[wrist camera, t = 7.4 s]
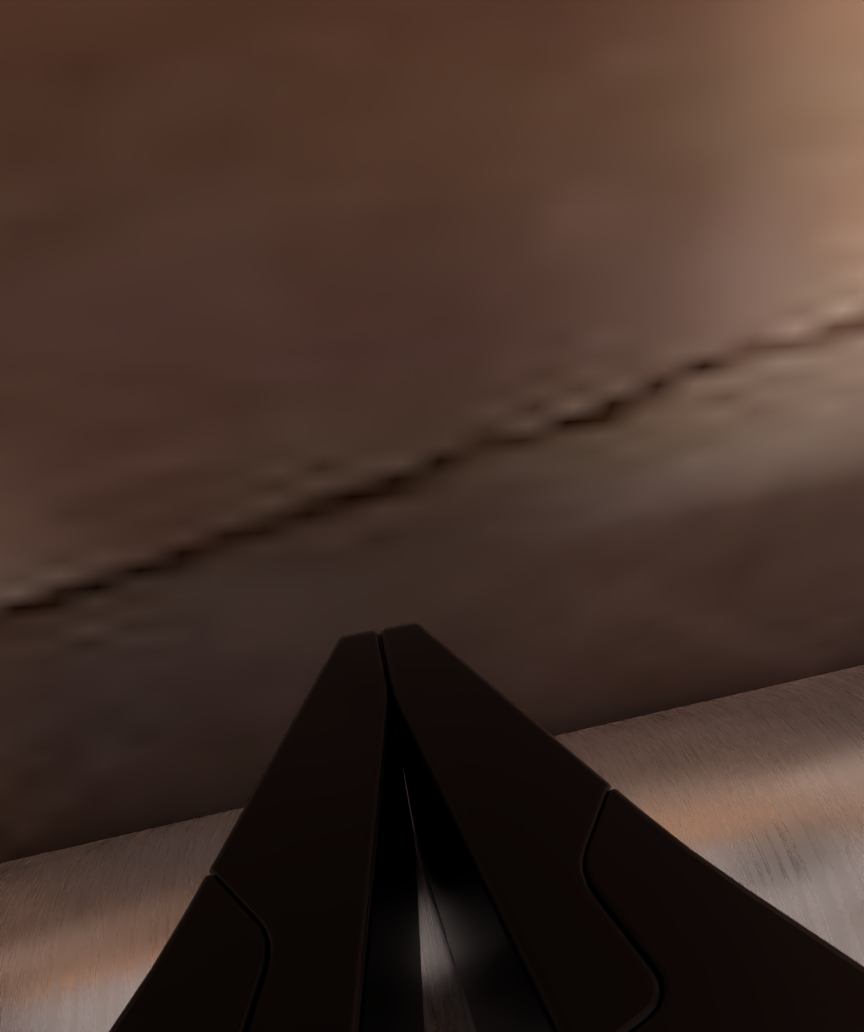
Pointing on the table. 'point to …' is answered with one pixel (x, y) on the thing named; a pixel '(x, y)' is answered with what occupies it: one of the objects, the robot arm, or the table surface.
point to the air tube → (447, 1018)
